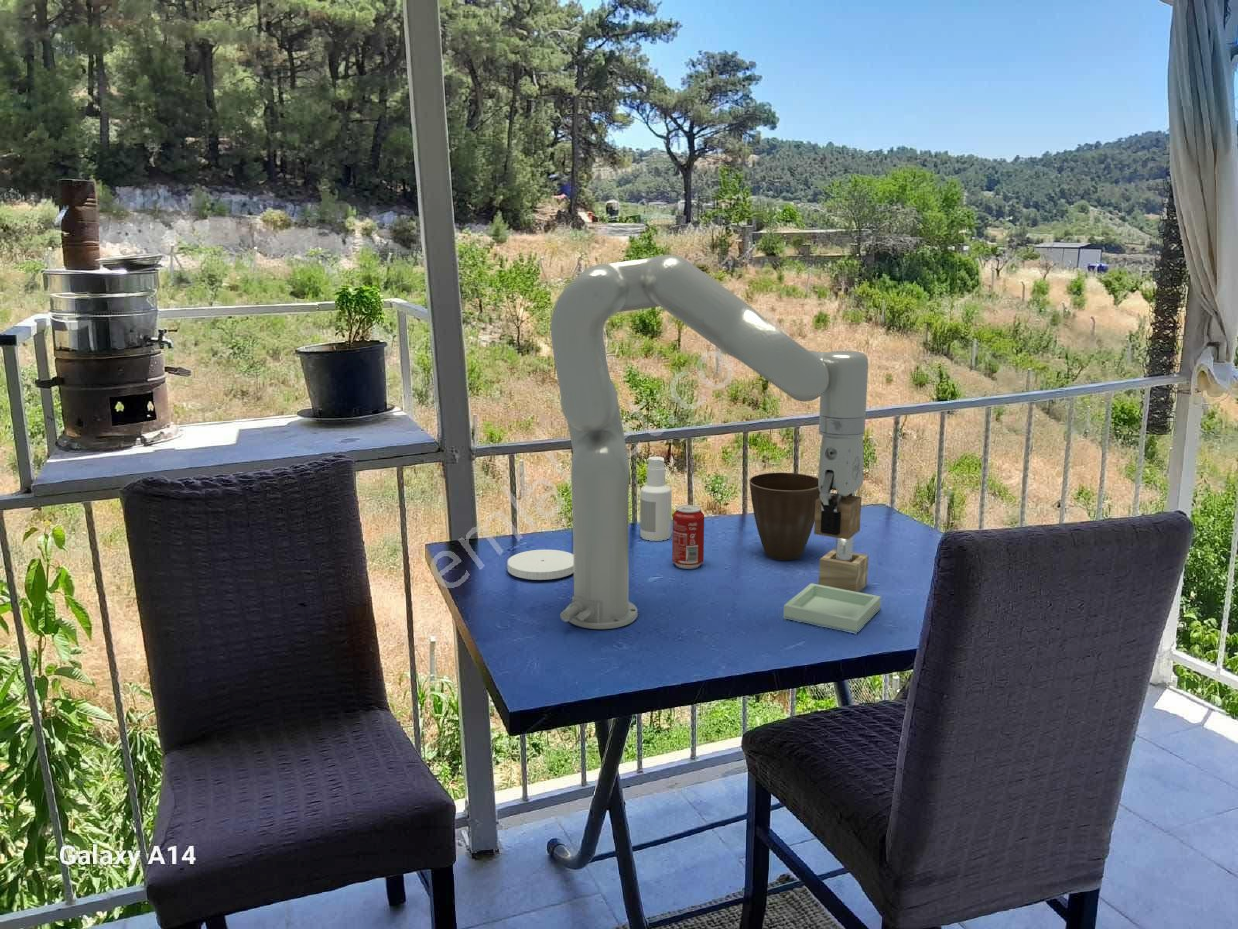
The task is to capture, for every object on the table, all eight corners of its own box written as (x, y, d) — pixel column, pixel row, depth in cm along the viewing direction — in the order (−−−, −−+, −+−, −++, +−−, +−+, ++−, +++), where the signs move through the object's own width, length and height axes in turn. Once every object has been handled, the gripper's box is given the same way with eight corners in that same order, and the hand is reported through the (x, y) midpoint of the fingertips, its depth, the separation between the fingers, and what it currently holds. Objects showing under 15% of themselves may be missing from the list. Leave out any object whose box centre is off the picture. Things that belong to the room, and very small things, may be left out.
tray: (856, 634, 157) (857, 620, 157) (783, 619, 164) (783, 605, 164) (880, 609, 168) (881, 596, 168) (810, 596, 175) (811, 583, 174)
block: (848, 539, 159) (849, 505, 157) (814, 534, 162) (815, 500, 160) (859, 530, 164) (861, 497, 162) (826, 525, 167) (827, 492, 165)
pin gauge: (847, 591, 177) (850, 540, 175) (832, 588, 179) (834, 537, 176) (852, 586, 180) (855, 536, 177) (837, 583, 181) (840, 533, 179)
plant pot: (820, 569, 190) (824, 491, 186) (745, 564, 192) (747, 488, 188) (818, 546, 204) (822, 473, 200) (748, 542, 206) (750, 471, 203)
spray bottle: (646, 531, 215) (646, 453, 211) (675, 534, 212) (675, 456, 208) (635, 539, 209) (636, 460, 205) (665, 543, 206) (666, 462, 202)
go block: (854, 596, 175) (856, 565, 173) (818, 589, 178) (819, 559, 177) (866, 585, 180) (868, 555, 179) (831, 578, 184) (832, 549, 183)
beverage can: (703, 560, 195) (704, 504, 192) (703, 570, 189) (704, 512, 186) (672, 559, 195) (673, 503, 193) (671, 569, 189) (672, 512, 187)
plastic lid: (530, 590, 179) (530, 577, 179) (495, 570, 190) (494, 558, 190) (591, 575, 187) (591, 562, 187) (554, 556, 198) (553, 545, 198)
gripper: (846, 436, 149) (841, 545, 154) (879, 419, 164) (874, 519, 168) (801, 431, 153) (797, 538, 157) (837, 415, 168) (833, 513, 172)
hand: (837, 527), depth 163 cm, fingers closed on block, 6 cm apart
